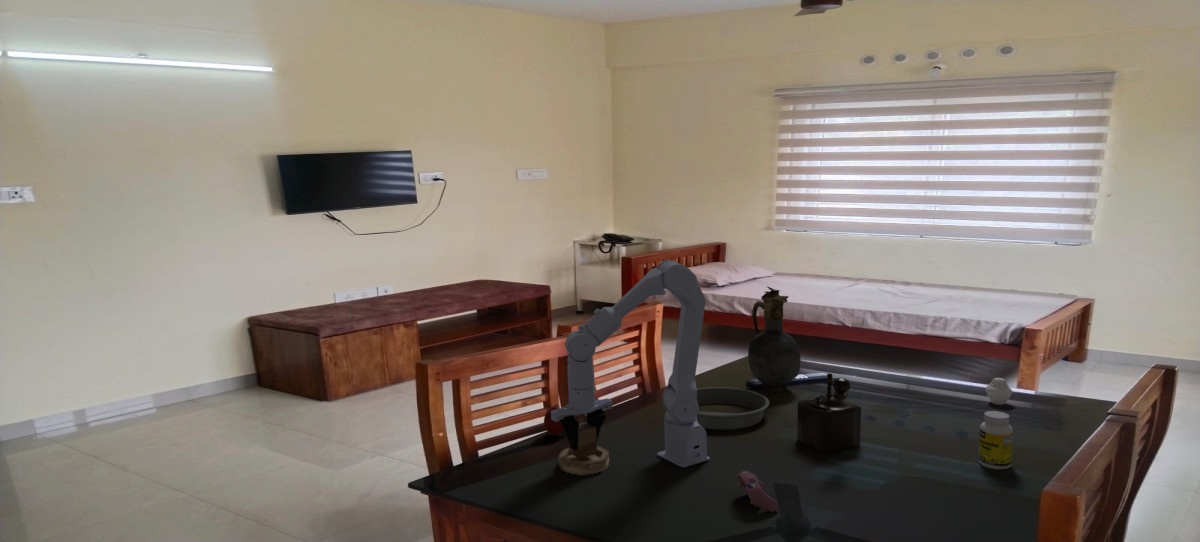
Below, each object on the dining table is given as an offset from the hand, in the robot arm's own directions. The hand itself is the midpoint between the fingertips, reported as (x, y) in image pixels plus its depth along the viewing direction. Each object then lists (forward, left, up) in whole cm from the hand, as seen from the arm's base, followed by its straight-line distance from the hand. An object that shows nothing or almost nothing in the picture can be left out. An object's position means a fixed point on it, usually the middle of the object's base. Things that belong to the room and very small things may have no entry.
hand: (583, 446), depth 163 cm
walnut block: (0, 0, -2) cm, 2 cm away
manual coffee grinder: (-25, -52, -5) cm, 58 cm away
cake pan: (+7, -46, -5) cm, 47 cm away
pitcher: (+17, -74, -5) cm, 76 cm away
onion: (+20, -4, -5) cm, 21 cm away
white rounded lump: (-30, -110, -5) cm, 114 cm away
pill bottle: (-52, -70, -5) cm, 87 cm away
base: (0, 0, -4) cm, 4 cm away
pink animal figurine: (-36, -17, -5) cm, 40 cm away
